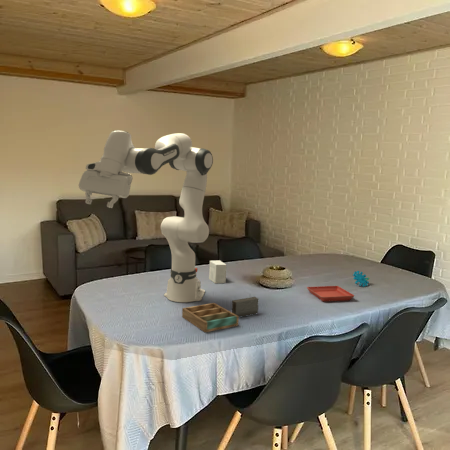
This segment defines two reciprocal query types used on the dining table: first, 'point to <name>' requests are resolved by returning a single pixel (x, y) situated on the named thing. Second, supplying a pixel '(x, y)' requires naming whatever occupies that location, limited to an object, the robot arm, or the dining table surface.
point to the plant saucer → (330, 293)
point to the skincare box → (217, 271)
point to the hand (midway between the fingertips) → (98, 205)
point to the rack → (210, 317)
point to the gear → (360, 278)
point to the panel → (245, 306)
